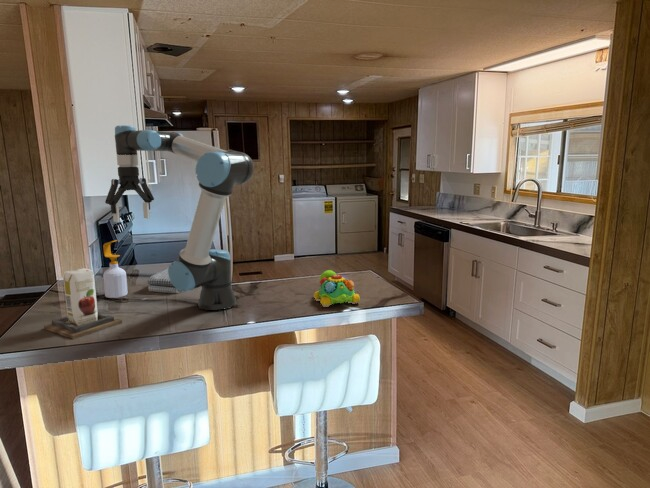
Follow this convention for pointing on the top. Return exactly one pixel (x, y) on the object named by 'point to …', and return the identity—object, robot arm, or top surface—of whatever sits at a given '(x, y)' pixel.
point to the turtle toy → (335, 289)
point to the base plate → (73, 331)
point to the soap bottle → (114, 276)
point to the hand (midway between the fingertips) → (132, 220)
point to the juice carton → (80, 296)
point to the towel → (161, 283)
